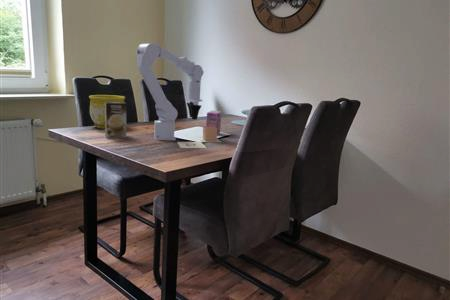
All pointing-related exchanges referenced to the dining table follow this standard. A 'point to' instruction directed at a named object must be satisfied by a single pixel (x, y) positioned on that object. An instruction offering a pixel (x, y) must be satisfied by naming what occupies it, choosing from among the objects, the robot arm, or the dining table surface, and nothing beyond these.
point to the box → (214, 120)
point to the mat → (211, 141)
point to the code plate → (191, 145)
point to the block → (209, 133)
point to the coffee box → (115, 119)
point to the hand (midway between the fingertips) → (193, 118)
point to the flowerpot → (101, 107)
